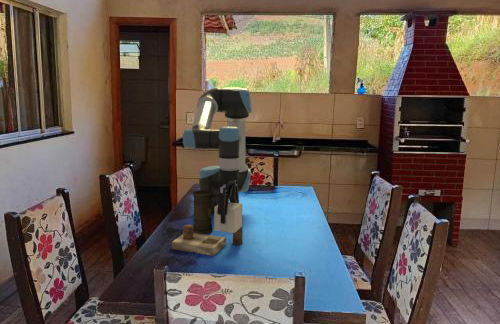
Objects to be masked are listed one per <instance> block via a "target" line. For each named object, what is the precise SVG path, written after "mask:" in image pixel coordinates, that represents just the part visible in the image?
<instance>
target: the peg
mask: <svg viewBox="0 0 500 324" xmlns="http://www.w3.org/2000/svg"><path fill="white" fill-rule="evenodd" d="M243 216H244V215H243V214H242V227H241V228H240V229H238V230H237V231H236V232H235V233H232V245H233V246H241V245H243V232H244V231H243V229H244V228H243V225H244V224H243V223H244V221H243V220H244V217H243Z"/></svg>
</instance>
